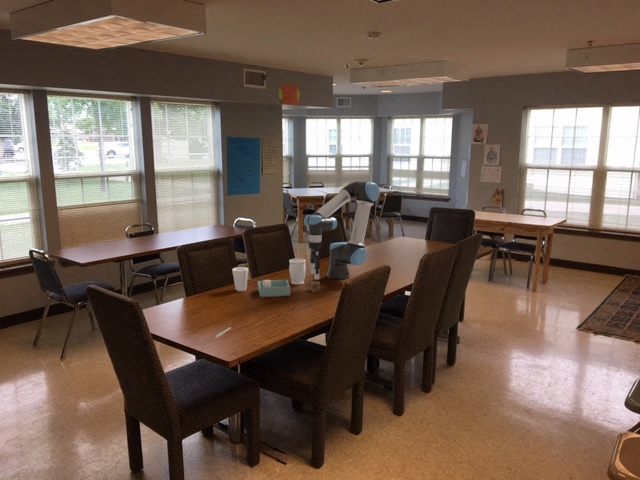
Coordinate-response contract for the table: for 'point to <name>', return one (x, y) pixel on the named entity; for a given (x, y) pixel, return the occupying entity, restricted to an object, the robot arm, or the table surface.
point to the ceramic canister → (266, 283)
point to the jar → (297, 271)
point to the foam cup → (240, 278)
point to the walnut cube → (315, 286)
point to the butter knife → (222, 332)
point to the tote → (274, 288)
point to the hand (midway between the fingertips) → (314, 276)
